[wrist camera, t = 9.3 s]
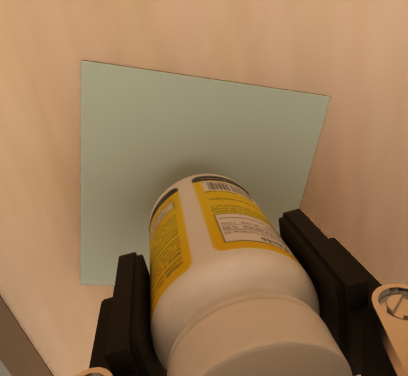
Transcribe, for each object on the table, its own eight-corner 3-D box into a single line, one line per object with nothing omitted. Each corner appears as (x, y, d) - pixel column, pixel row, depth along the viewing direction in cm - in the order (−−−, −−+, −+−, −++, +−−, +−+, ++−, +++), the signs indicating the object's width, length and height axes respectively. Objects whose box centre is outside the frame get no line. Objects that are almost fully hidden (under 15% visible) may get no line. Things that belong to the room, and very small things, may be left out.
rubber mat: (326, 95, 17) (330, 96, 16) (274, 284, 21) (277, 288, 20) (82, 60, 14) (80, 60, 14) (81, 280, 19) (80, 284, 18)
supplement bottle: (173, 278, 15) (198, 506, 8) (130, 196, 13) (105, 392, 6) (266, 241, 15) (385, 431, 8) (237, 153, 13) (355, 290, 6)
